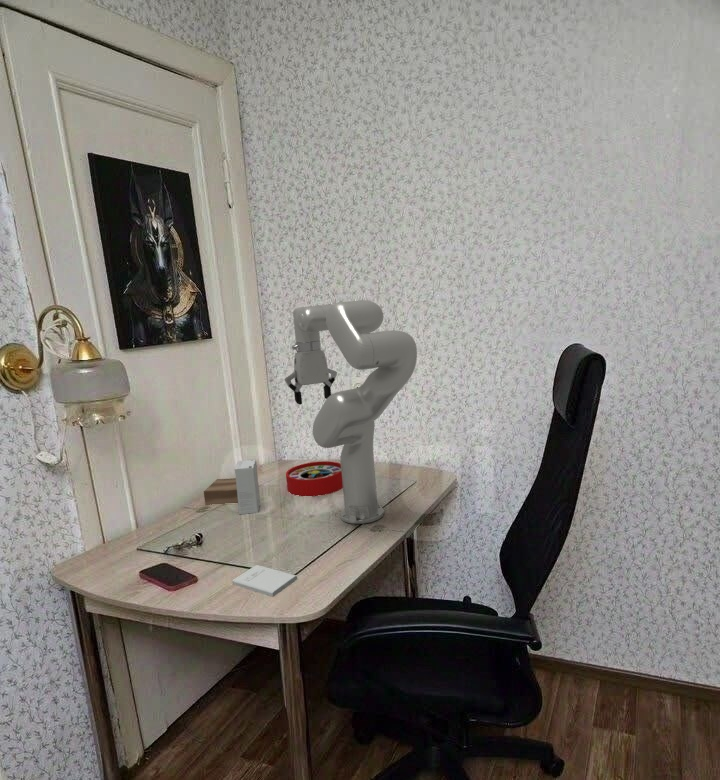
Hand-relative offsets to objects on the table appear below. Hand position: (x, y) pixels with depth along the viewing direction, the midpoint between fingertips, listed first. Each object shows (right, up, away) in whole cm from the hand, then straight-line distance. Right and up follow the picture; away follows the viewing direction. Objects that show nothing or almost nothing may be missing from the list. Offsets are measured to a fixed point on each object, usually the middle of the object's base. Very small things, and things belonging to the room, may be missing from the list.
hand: (313, 401), depth 170 cm
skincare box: (-19, -34, -2) cm, 39 cm away
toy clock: (0, -30, +15) cm, 33 cm away
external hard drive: (-7, -41, -47) cm, 63 cm away
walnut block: (-29, -33, +10) cm, 45 cm away
